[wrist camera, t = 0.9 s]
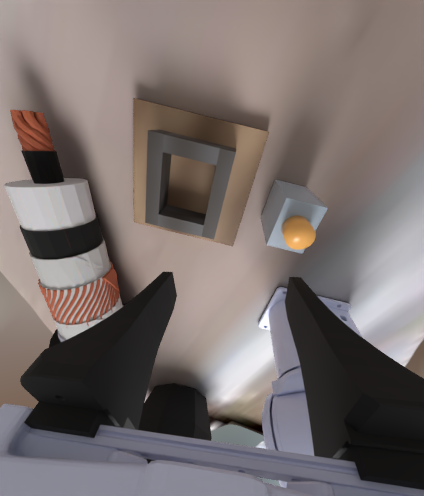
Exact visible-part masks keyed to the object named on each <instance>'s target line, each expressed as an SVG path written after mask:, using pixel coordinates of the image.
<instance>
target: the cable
mask: <svg viewBox="0 0 424 496" xmlns="http://www.w3.org/2000/svg"><path fill="white" fill-rule="evenodd" d="M10 111H11V116H12V120H13V124H14V128H15V130H16V132H17V133H18V139H19V141H20V143H21V145H22V149H23V151H22V153H23V156H24V159H25V161H26V164H27V166H28V169H29V172H30V174H31V177H32V180H22V181H15V182H10V183H6V184H5V185H4V186H5V189H6V191H7V194H8V196H9V198H10V201H11V203H12V205H13V208H14V210H15V213H16V215H17V217H18V220H19V222H20V224H21V225H20V229H21V232H22V234H23V236H24V239H25V241H26V243H27V246H28V248H29V250H30V252H29V254H30V256H31V259H32V261H33V264H34V266H35V268H36V271H37V273H38V276H39V278H40V279H39V280H38V281H39V283H38V284H39V287H40V289H41V291H42V294H43V295H44V297H45V300H46V302H47V305H48V307H49V309H50V312H51V314H52V317H53V319H54V322H55V324H56V326H57V330H56V331H55V333H54V334H53V336H52V338H51V340H50V345H49V348H50V347H52V346H54V345H56V344H58V343H61V342H63V341H65V340H67V339H69V338H71V337H73V336H75V335H77V334H79V333H81V332H83V331H85V330H87V329H89V328H90V327H92V326H94V325H96V324H97V323H99V322H101V321H102V320H104V319H105V318H107V317H109V316H110V315H112V314H113V313H115V312H116V311H118V310H119V309H120V308H122V307H123V306H125V305H124V304H122V302H121V298H120V294H119V293H120V292H119V287H118V283H117V274H116V271H115V270H114V268H113V264H112V262H111V261H109V258H108V253H107V249H106V245H105V241H104V238H103V237H102V234H101V229H100V225H99V221H98V217H97V215H96V214H95V210H94V206H93V202H92V198H91V194H90V189H89V185H88V181H87V180H86V179H80V178H63V174H62V171H61V167H60V163H59V160H58V156H57V152H56V151H55V150H54V147H53V145H52V139H51V137H50V134H49V128H48V126H47V123H46V121H45V118H44V114H43V113H38V112H32V111H25V110H22V111H19V110H10Z"/></svg>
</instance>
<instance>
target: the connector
mask: <svg viewBox="0 0 424 496" xmlns="http://www.w3.org/2000/svg"><path fill="white" fill-rule="evenodd" d="M327 209H328V208H327V207H326V206H325V205H324V204H323V203H322V202H321V201H320V200H319V199H318V198H317V197H316V196H315V195H314V194H313V193H312V192H311V191H310V190H309V189H308V188H307V187H304V186H300V185H296V184H292V183H288V182H284V181H280V180H276V179H275V181H274V184H273V186H272V189H271V192H270V194H269V197H268V200H267V202H266V205H265V208H264V210H263V213H262V216H261V222H262V226H263V231H264V236H265V240H266V245H268V246H273V247H277V248H281V249H285V250H289V251H293V252H297V253H301V254H303V252H304V250H305V248H307V247H309V246H310V245H311V244H312V243H313V242H314V240H315V237H316V232H315V231H316V229H317V227H318V225H319V223H320V222H321V220H322V218H323V216H324V214H325V213H326V211H327Z"/></svg>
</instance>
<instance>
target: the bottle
mask: <svg viewBox="0 0 424 496" xmlns="http://www.w3.org/2000/svg"><path fill="white" fill-rule="evenodd" d="M138 430H141V431H148V432H154V433H161V434H168V435H175V436H182V437H188V438H195V439H202V440H209V441H211V431H210V424H209V417H208V410H207V402H206V398H205V397H204V396H203V395H201V394H200V393H199V392H198V391H197V390H195V389H192V388H188V387H185V386H181V385H177V384H174V383H173V384H168V385H163V386H157V387H155V388H154V390H153V391H152V393H151V394H150V396H149V397H148V398H147V400H146V401H145V403H144V405H143V410H142V414H141V419H140V423H139V428H138ZM144 459H145V458H144ZM146 460H147V462H148V464H149V463H150V462H151V461H155V460H151V459H146Z"/></svg>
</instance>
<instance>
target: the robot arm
mask: <svg viewBox="0 0 424 496" xmlns="http://www.w3.org/2000/svg"><path fill="white" fill-rule="evenodd" d="M284 291H286V292H284ZM176 297H177V294H176V289H175V283H174V278H173V273H172V272H162V273H161V274H160V275H159V276H158V277H157V278H156V279H155V280H154V281H153V282H152V283H151V284H149V285H148V286H147V287H146V288H145V289H144V290H143V291H142V292H141V293H139V294H138V295H137V296H136V297H135V298H133V299H132V300H131V301H130V302H128V303H127V304H126V305H125V306H123V307H122V308H120V309H119V310H118V311H116V312H115V313H113V314H112V315H110V316H109V317H107V318H105V319H104V320H102V321H101V322H99V323H97V324H96V325H94V326H92V327H90V328H89V329H87V330H85V331H83V332H81V333H79V334H77V335H75V336H73V337H71V338H69V339H67V340H65V341H63V342H61V343H58V344H56V345H54V346H52V347H50V348H47V349H45V350H44V351H43V352H42V353H41V354H40V356H39V357H38V358H37V359H36V360H35V361H34V363H33V364H32V365H31V366H30V367H29V368H28V369H27V371H26V372H25V373H24V374H23V375H22V376H21V379H20V382H21V385H22V386H23V387H24V388H25V389H26V390H27V391H28V392H29V393H30V394H31V395H32V396H33V397H35V398H36V399H37V400H38V401H39V403H38V404H37V405H36V407H35V408H34V409H32V408H29V407H25V406H19V405H12V404H4V405H2V407H1V408H0V496H424V379H423V378H422V377H420V376H418V375H417V374H415V373H413V372H411V371H410V370H408V369H407V368H405V367H404V366H402V365H400V364H399V363H397V362H396V361H394V360H393V359H391V358H390V357H388V356H387V355H385V354H384V353H382V352H381V351H380V350H378V349H377V348H375V347H374V346H373V345H371V344H370V343H369V342H367V341H366V340H365V339H363V338H362V336H361V334H360V332H359V331H358V329H357V327H356V325H355V324H354V322H353V320H352V318H351V317H350V315H349V313H348V311H349V310H350V309H351V305H350V304H349V303H345V302H341V301H337V300H333V299H329V298H325V297H321V296H316V294H315V293H314V292H313V291H312V290H311V289H310V288H309V287H308V285H307V284H306V283H305V282H304V281H303V280H302V279H301V278H299V277H290V278H289V283H288V288H283V287H279V288H277V289H276V291H275V293H274V295H273V297H272V299H271V301H270V302H269V304H268V306H267V308H266V310H265V312H264V314H263V315H262V317H261V319H260V321H259V323H258V326H259V328H263V329H267V330H270V332H271V339H272V346H273V352H274V359H275V366H276V373H277V380H276V381H272V388H273V393H271V394H269V395H268V396H267V397H266V400H265V404H264V406H263V412H262V426H263V434H264V440H265V445H266V449H263V448H256V447H249V446H243V445H235V444H229V443H222V442H216V441H209V440H202V439H195V438H188V437H182V436H175V435H168V434H161V433H154V432H148V431H141V430H138V428H139V423H140V419H141V414H142V410H143V405H144V401H145V397H146V393H147V388H148V384H149V380H150V377H151V373H152V369H153V365H154V362H155V358H156V355H157V351H158V348H159V345H160V342H161V340H162V337H163V335H164V332H165V330H166V327H167V325H168V322H169V320H170V317H171V314H172V312H173V309H174V305H175V301H176ZM144 458H145V459H144ZM146 459H151V460H155V461H151V462H150V463H149V464H148V462H147V460H146ZM257 477H260V478H266V479H272V480H278V481H279V483H280V486H281V487H279V486H276V485H272V484H268V483H265V482H263V481H262V480H261V479H259V478H257Z"/></svg>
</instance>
